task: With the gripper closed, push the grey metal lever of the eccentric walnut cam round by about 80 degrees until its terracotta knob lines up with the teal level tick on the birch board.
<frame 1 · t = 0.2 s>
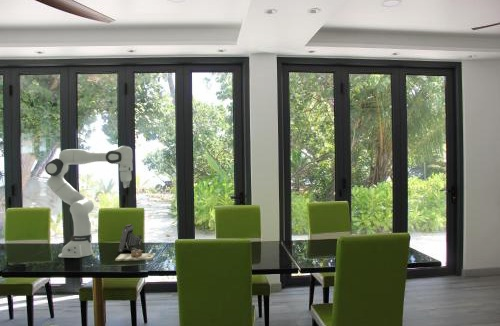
hand: (126, 187, 272), 47 cm above the table, fingers open, 8 cm apart
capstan: (136, 253, 257), point 3 cm above the table, hinge at 0.0°
board: (136, 257, 260), on the table
camera: (132, 251, 279), on the table
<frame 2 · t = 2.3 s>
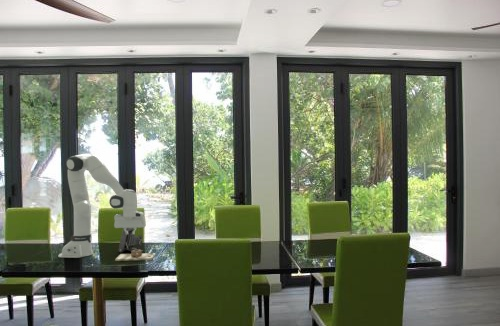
hand: (130, 234, 254), 17 cm above the table, fingers open, 3 cm apart
nothing on the table moved.
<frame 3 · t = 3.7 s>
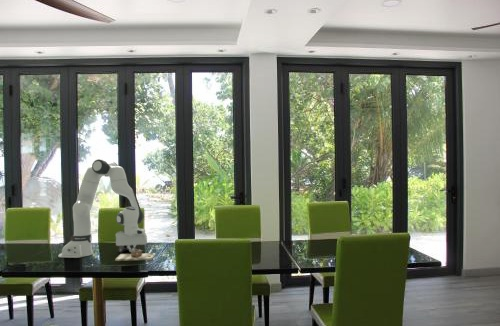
hand: (131, 251, 255), 5 cm above the table, fingers closed
nothing on the table moved.
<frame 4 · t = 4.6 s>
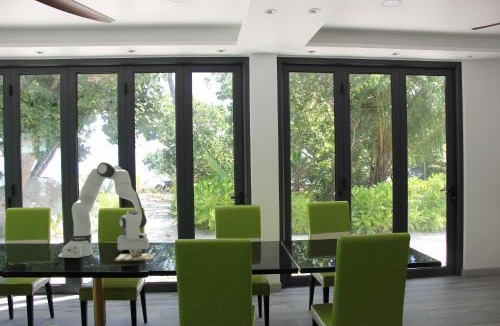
hand: (133, 256, 254), 3 cm above the table, fingers closed
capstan: (136, 253, 257), point 3 cm above the table, hinge at 0.0°, touching gripper
everything else where it was.
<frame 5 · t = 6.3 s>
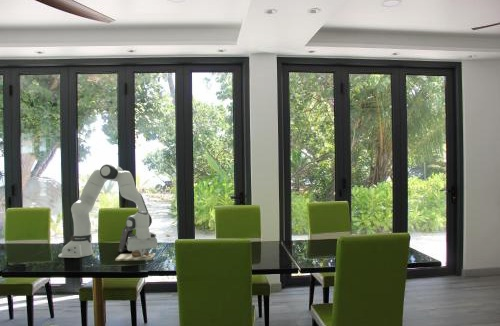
hand: (142, 255, 256), 2 cm above the table, fingers closed
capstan: (140, 252, 259), point 3 cm above the table, hinge at 45.0°, touching gripper
everything else where it was.
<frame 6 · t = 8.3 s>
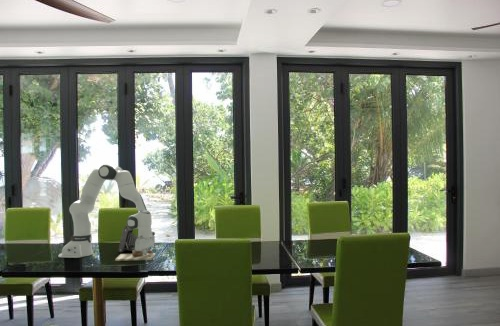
hand: (145, 254, 258), 2 cm above the table, fingers closed
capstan: (142, 252, 262), point 3 cm above the table, hinge at 84.8°
everything else where it was.
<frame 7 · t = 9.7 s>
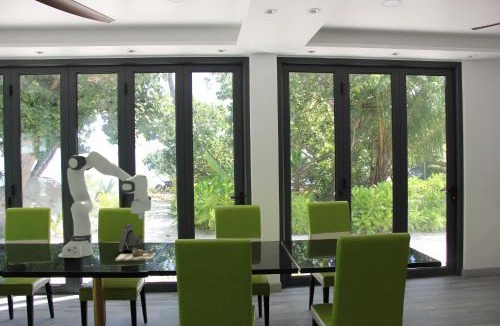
hand: (141, 218, 258), 27 cm above the table, fingers closed
nothing on the table moved.
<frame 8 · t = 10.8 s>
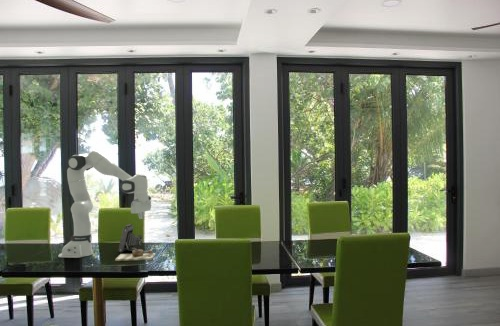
hand: (141, 218, 258), 27 cm above the table, fingers closed
nothing on the table moved.
at the end: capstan at +85° (first picture: +0°) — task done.
